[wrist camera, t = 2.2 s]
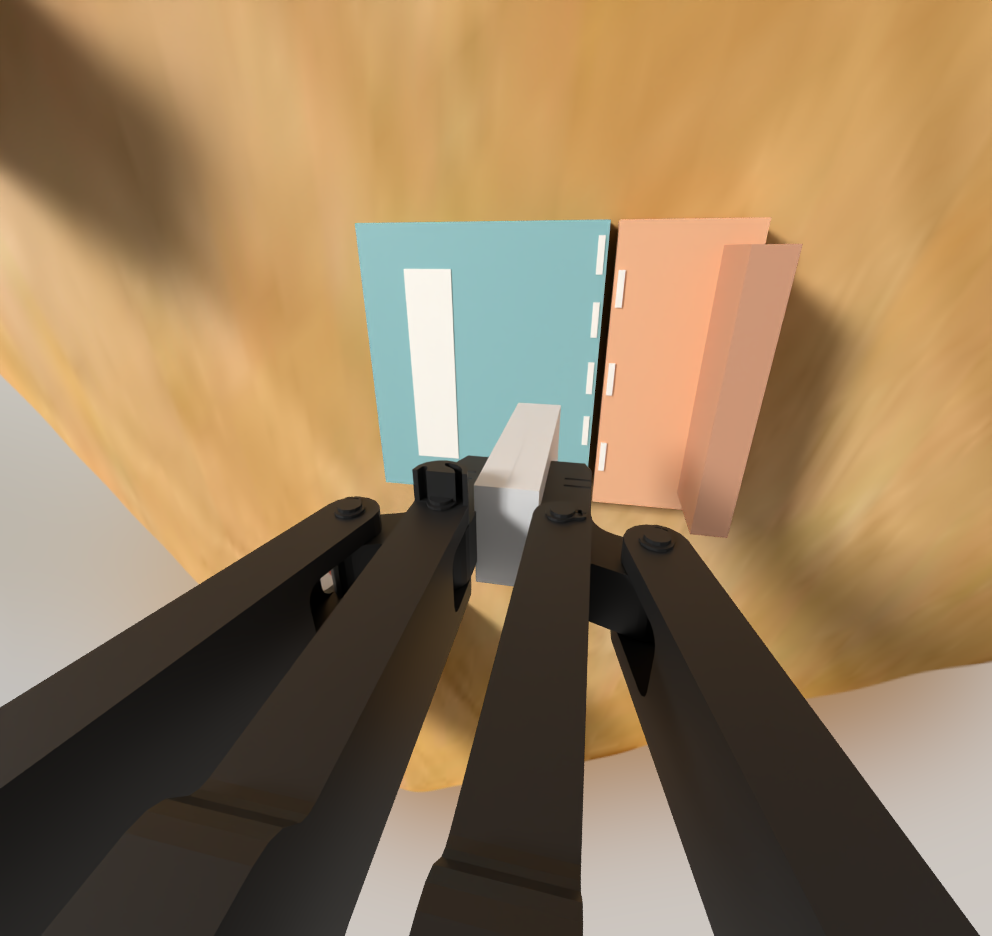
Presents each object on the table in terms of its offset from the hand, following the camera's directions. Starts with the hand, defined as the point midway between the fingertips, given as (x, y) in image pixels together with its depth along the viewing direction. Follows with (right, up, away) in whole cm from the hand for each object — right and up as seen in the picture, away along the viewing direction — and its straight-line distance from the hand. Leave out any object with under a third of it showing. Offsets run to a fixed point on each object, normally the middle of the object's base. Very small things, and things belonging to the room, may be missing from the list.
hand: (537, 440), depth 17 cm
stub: (+7, +4, +8) cm, 11 cm away
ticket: (-2, +5, +9) cm, 11 cm away
